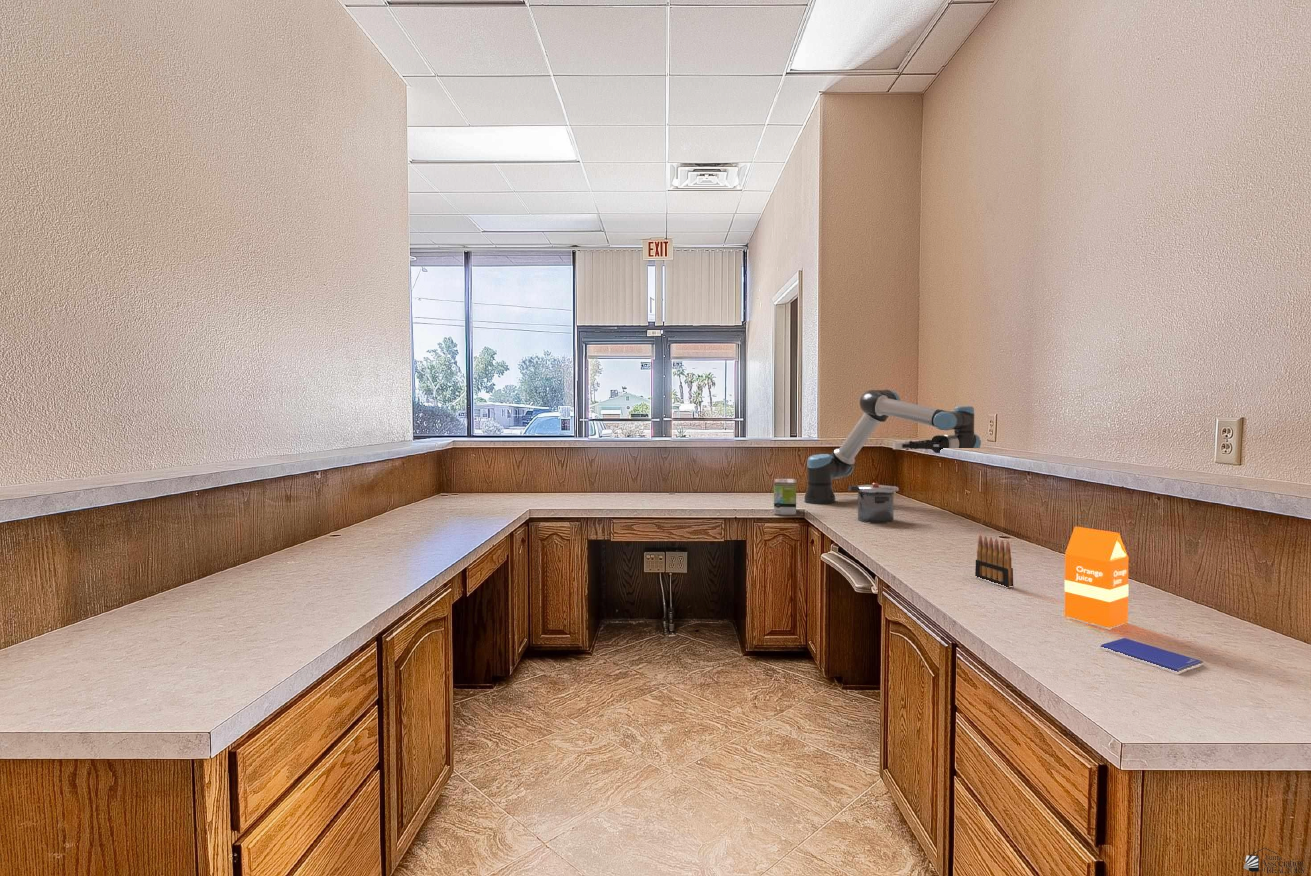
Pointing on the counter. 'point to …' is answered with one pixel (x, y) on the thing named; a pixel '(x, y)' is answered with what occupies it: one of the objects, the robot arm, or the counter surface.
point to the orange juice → (1096, 577)
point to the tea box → (785, 496)
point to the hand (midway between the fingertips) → (893, 446)
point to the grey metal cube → (875, 507)
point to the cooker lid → (874, 488)
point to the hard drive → (1152, 654)
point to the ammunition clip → (994, 562)
